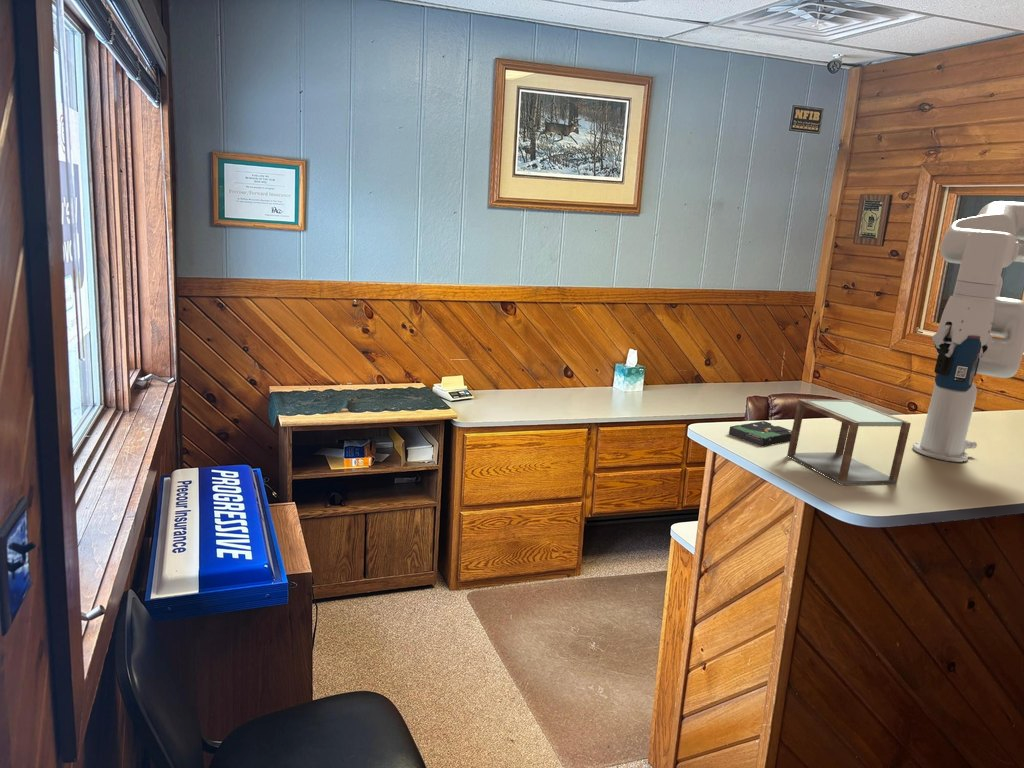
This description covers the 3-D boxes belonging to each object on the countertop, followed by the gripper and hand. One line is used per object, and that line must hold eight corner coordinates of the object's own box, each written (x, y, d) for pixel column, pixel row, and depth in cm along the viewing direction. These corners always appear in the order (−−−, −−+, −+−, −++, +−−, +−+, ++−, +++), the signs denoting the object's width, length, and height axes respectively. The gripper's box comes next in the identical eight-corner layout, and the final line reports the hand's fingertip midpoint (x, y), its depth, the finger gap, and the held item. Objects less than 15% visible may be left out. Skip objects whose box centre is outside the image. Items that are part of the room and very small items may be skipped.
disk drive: (761, 430, 202) (727, 436, 193) (763, 420, 201) (729, 425, 192) (796, 442, 194) (762, 448, 185) (798, 431, 194) (764, 437, 184)
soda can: (929, 383, 167) (942, 329, 164) (964, 388, 165) (977, 334, 162) (938, 389, 160) (951, 334, 157) (974, 395, 159) (988, 338, 156)
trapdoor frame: (787, 456, 180) (798, 399, 176) (838, 455, 184) (850, 400, 181) (841, 485, 163) (854, 422, 160) (896, 483, 168) (910, 423, 164)
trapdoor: (807, 405, 176) (808, 401, 175) (849, 405, 179) (849, 401, 179) (857, 426, 161) (858, 421, 161) (901, 426, 165) (902, 422, 165)
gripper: (989, 291, 164) (969, 371, 168) (928, 286, 158) (909, 369, 162) (1021, 296, 157) (1000, 379, 161) (959, 291, 151) (938, 378, 156)
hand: (954, 374), depth 162 cm, fingers closed on soda can, 6 cm apart
